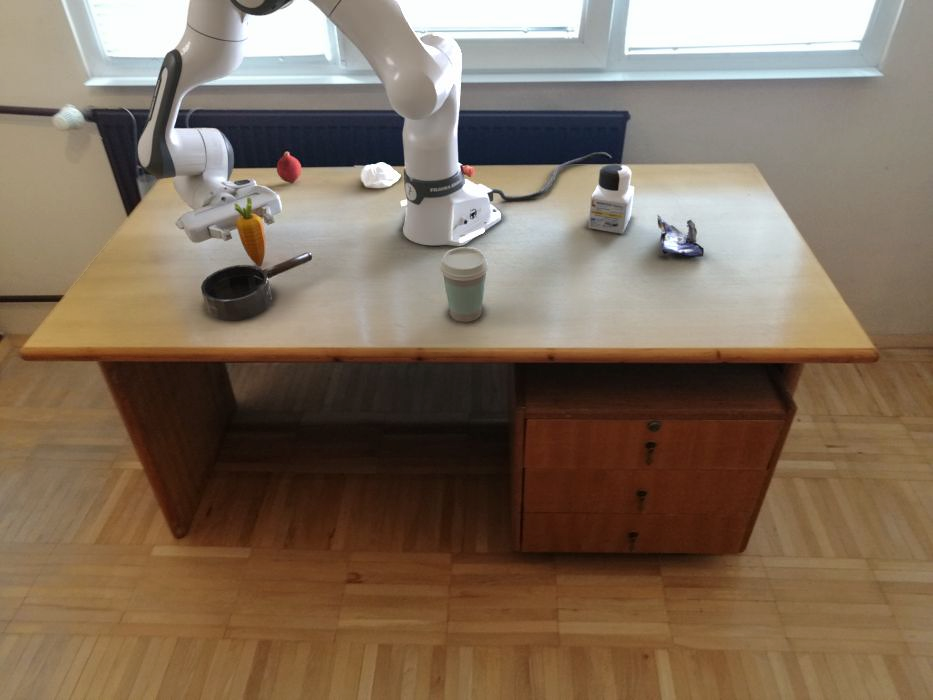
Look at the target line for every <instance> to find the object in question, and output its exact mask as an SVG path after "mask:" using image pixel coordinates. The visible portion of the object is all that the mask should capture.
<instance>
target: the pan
mask: <svg viewBox="0 0 933 700" xmlns="http://www.w3.org/2000/svg"><path fill="white" fill-rule="evenodd" d="M263 270H264V269H262V268H261V267H259V266H255V265H249V264H236V265H230V266H227V267H223V268H221V269H219V270H216V271H214V272H212V273H210V274H209V275H207V276H206V277H205V279H204V280H203V281H202V283H201V287H200V290H201V294H202V297H203V301H204V304H205V307H206V310H207V312H208V314H209V315H210V316H211V317H213V318H214V319H217V320H220V321H225V322H235V321H242V320H243V321H244V320H246V319H250V318H253V317H256V316H257V315H260V314H261V313H262V312H264V311H265V310H266V309H267V308H268V307H269V306H270V304H271V303H272V301H273V294H272V293H273V292H272V289H271V285H270V281H269V279H268V277H267V274H266V272H265V271H263ZM259 272H260V273H261V274H260V273H259ZM260 275H261V276H262V277H263V278H262V277H260Z"/></svg>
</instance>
